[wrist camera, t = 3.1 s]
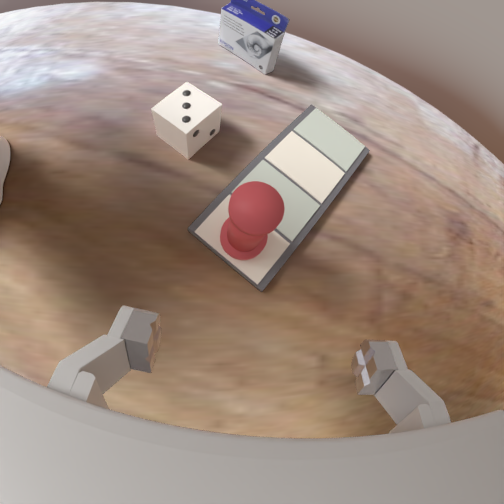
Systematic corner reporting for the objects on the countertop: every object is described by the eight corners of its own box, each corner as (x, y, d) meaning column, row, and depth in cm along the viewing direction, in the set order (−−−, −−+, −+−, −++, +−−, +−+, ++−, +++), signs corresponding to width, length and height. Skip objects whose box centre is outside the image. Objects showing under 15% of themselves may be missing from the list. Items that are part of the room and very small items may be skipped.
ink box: (216, 44, 42) (221, -8, 31) (225, 40, 43) (232, -11, 31) (265, 77, 41) (280, 22, 30) (274, 71, 42) (291, 18, 31)
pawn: (246, 269, 33) (262, 250, 24) (210, 239, 33) (212, 209, 24) (274, 235, 35) (299, 204, 25) (239, 207, 35) (252, 166, 25)
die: (188, 160, 37) (186, 133, 31) (157, 135, 37) (150, 108, 31) (220, 131, 38) (223, 103, 32) (188, 109, 38) (187, 81, 32)
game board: (260, 291, 34) (262, 290, 33) (188, 230, 35) (187, 227, 33) (366, 153, 41) (370, 149, 40) (309, 108, 41) (311, 103, 40)
